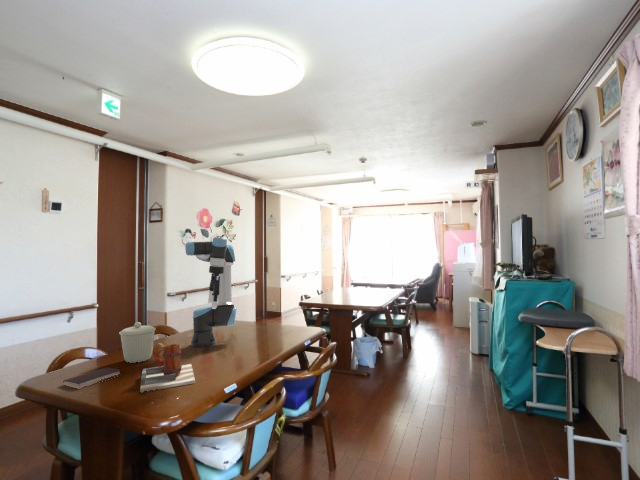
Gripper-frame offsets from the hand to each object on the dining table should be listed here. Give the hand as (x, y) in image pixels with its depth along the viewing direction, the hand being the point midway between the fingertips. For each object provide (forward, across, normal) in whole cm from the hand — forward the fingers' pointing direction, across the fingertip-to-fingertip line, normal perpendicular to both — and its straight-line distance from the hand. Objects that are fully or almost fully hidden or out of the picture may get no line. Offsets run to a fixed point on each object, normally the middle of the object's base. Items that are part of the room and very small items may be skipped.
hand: (212, 305), depth 188 cm
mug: (+31, -16, +19) cm, 40 cm away
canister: (+36, +22, +33) cm, 54 cm away
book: (+38, -1, +50) cm, 63 cm away
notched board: (+32, -17, +19) cm, 41 cm away
